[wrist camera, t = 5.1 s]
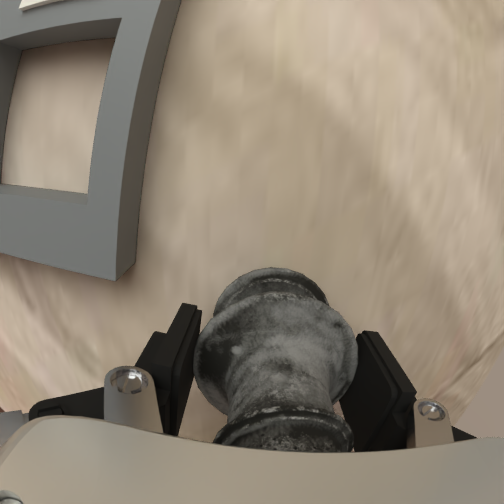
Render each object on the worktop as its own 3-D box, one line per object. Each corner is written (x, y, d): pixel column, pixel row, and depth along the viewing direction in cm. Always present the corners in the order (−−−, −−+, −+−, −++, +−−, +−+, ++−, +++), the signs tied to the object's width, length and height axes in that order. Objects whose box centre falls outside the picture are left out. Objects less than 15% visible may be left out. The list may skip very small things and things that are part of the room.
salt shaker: (347, 356, 14) (434, 588, 3) (232, 387, 15) (207, 623, 3) (320, 242, 13) (510, 520, 1) (186, 283, 13) (45, 560, 2)
